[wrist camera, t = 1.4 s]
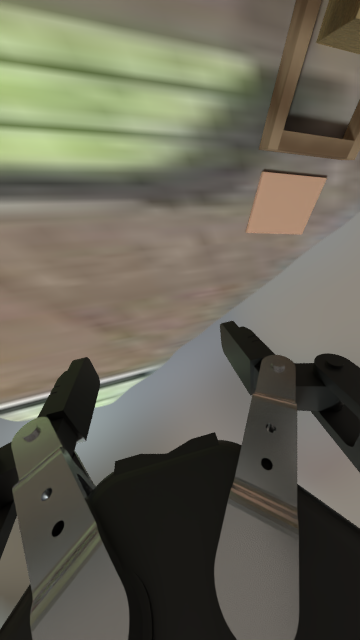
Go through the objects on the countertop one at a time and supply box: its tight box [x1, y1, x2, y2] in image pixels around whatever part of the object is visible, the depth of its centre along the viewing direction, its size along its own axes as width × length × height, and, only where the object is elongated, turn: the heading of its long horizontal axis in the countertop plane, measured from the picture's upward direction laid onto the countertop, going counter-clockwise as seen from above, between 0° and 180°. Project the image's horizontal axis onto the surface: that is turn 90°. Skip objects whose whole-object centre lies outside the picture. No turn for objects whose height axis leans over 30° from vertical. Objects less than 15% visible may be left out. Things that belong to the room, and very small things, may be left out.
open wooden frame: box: [259, 0, 360, 160], centre depth 22 cm, size 24×15×2 cm, turn 175°
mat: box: [246, 172, 327, 234], centre depth 34 cm, size 9×12×1 cm
